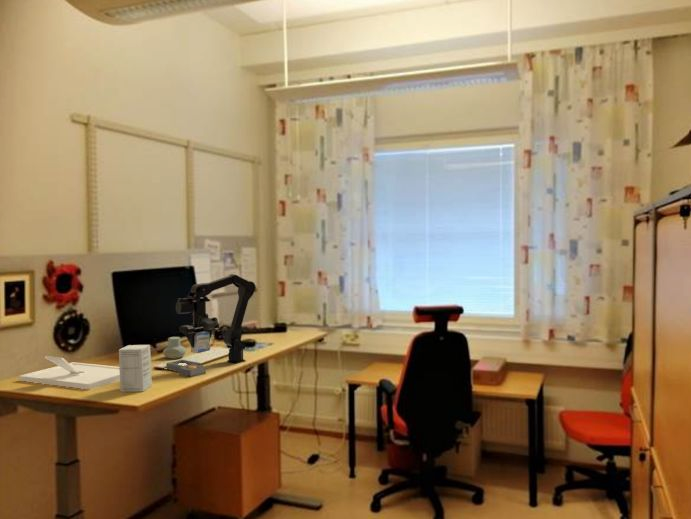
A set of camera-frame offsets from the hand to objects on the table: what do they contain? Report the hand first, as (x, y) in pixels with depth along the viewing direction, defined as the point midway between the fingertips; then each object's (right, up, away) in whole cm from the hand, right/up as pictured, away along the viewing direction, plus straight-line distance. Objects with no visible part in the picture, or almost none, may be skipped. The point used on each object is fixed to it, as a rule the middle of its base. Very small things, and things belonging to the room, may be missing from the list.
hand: (200, 345), depth 262 cm
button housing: (0, -11, -11) cm, 16 cm away
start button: (0, -9, -12) cm, 15 cm away
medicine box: (0, -3, 0) cm, 3 cm away
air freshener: (-19, -10, +24) cm, 32 cm away
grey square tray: (-8, -10, 0) cm, 13 cm away
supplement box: (-17, -12, -34) cm, 40 cm away
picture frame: (-48, -12, -15) cm, 52 cm away
